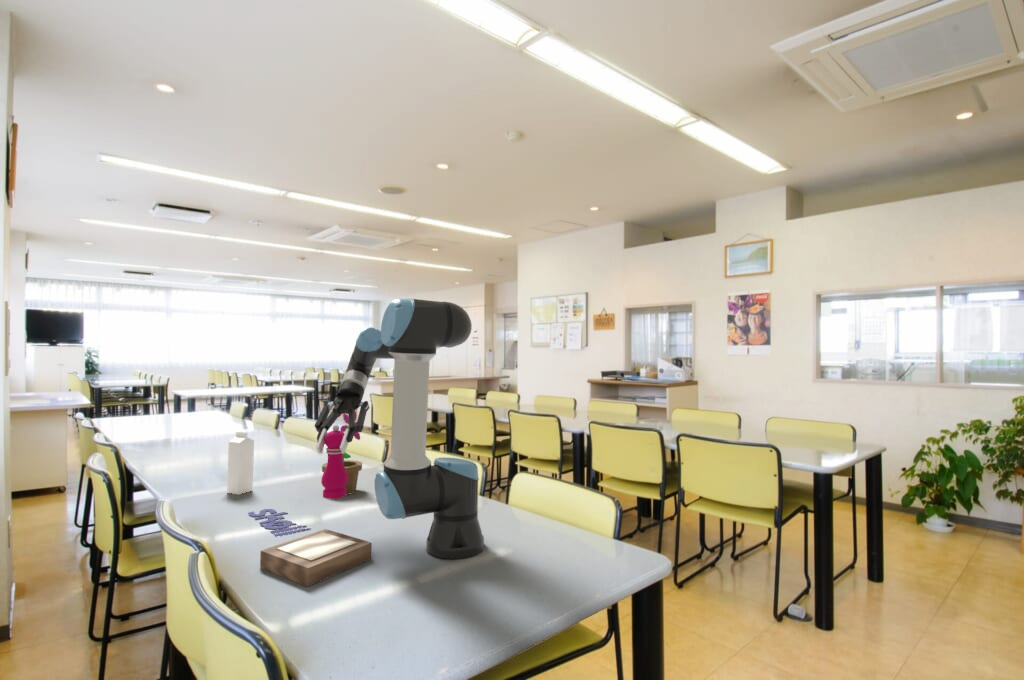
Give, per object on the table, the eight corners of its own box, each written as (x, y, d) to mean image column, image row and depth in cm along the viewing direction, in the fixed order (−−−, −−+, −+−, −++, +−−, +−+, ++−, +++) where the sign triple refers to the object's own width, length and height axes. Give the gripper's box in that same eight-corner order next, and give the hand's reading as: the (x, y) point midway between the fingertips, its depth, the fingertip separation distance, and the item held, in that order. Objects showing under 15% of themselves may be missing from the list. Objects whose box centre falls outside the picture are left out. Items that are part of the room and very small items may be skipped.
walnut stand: (371, 558, 123) (371, 541, 123) (307, 586, 108) (308, 566, 108) (324, 544, 132) (325, 527, 132) (260, 567, 117) (260, 549, 117)
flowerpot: (370, 490, 187) (371, 410, 188) (339, 499, 175) (341, 414, 176) (344, 485, 194) (345, 408, 195) (312, 493, 182) (314, 411, 183)
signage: (245, 512, 158) (278, 506, 164) (245, 514, 158) (278, 508, 164) (274, 536, 137) (311, 528, 144) (274, 538, 137) (311, 530, 144)
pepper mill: (351, 492, 144) (352, 423, 145) (343, 499, 137) (344, 426, 137) (326, 492, 144) (327, 423, 144) (317, 499, 136) (318, 426, 137)
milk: (241, 489, 187) (243, 430, 188) (252, 491, 185) (254, 431, 186) (226, 493, 181) (228, 432, 182) (237, 495, 179) (240, 433, 180)
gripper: (384, 396, 156) (367, 458, 139) (326, 396, 157) (301, 458, 140) (380, 380, 151) (360, 442, 134) (319, 380, 152) (292, 442, 135)
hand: (330, 450), depth 137 cm, fingers closed on pepper mill, 6 cm apart
